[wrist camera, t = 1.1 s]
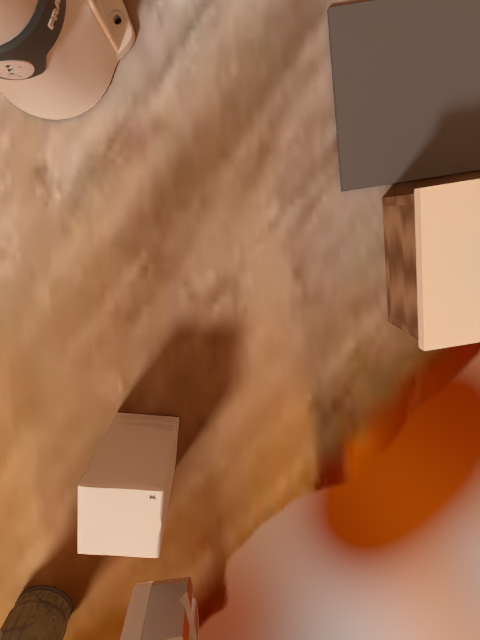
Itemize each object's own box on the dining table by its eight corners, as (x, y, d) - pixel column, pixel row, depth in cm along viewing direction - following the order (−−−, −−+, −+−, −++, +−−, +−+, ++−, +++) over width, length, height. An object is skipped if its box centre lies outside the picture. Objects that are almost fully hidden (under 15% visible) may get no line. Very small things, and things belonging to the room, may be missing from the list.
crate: (382, 198, 47) (419, 193, 38) (509, 177, 47) (574, 168, 39) (388, 321, 51) (422, 342, 43) (505, 302, 51) (563, 319, 43)
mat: (327, 10, 42) (328, 7, 41) (498, -16, 42) (502, -20, 41) (341, 191, 47) (342, 191, 46) (493, 167, 47) (497, 166, 46)
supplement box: (115, 410, 53) (75, 482, 38) (180, 415, 53) (165, 489, 39) (112, 467, 55) (74, 556, 40) (175, 471, 56) (159, 560, 41)
